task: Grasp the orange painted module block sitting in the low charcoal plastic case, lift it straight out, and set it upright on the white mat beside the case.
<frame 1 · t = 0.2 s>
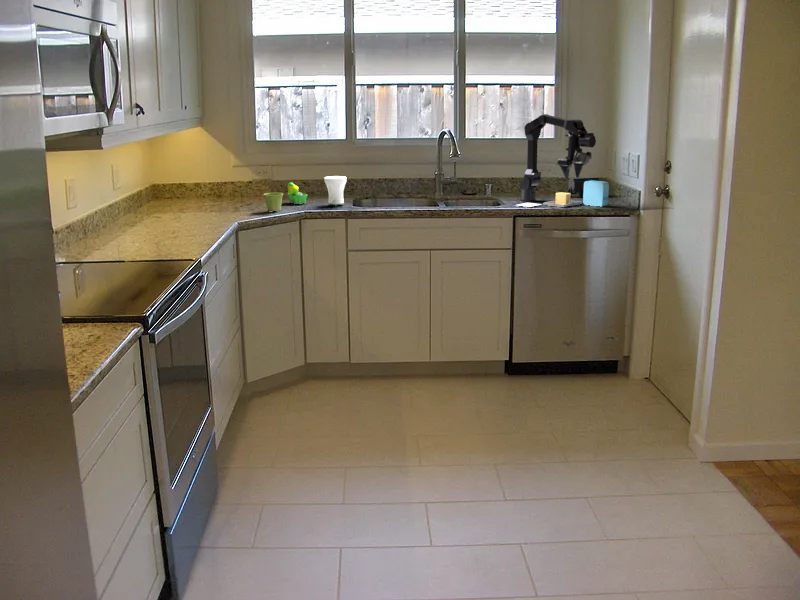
hand: (572, 178, 380), 13 cm above the worktop, fingers open, 9 cm apart
cup: (336, 205, 395), on the worktop
plant pot: (274, 212, 377), on the worktop
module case: (562, 205, 386), on the worktop
data package: (595, 206, 383), on the worktop
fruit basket: (296, 204, 402), on the worktop
security camera: (581, 196, 415), on the worktop
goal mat: (529, 205, 385), on the worktop
module: (562, 199, 385), in the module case
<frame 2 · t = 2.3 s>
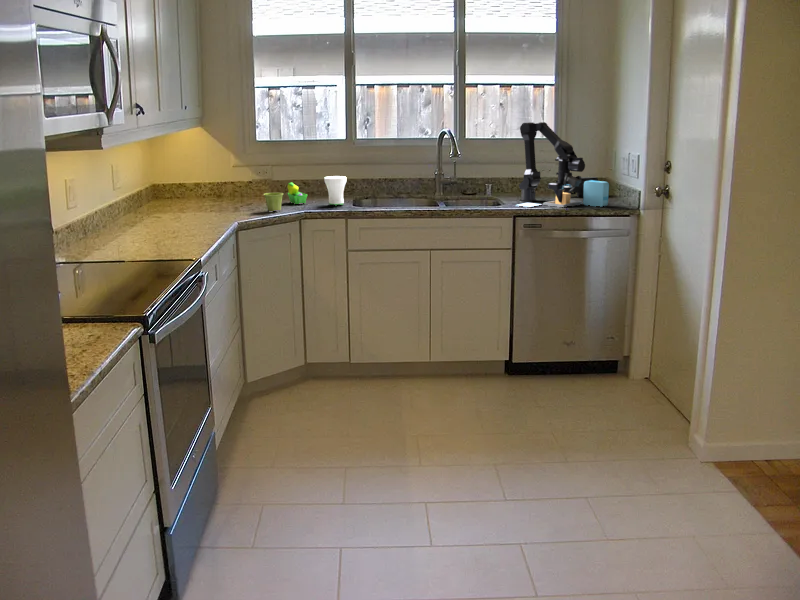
hand: (562, 202, 386), 2 cm above the worktop, fingers closed on module, 4 cm apart
module: (562, 199, 385), in the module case, touching gripper
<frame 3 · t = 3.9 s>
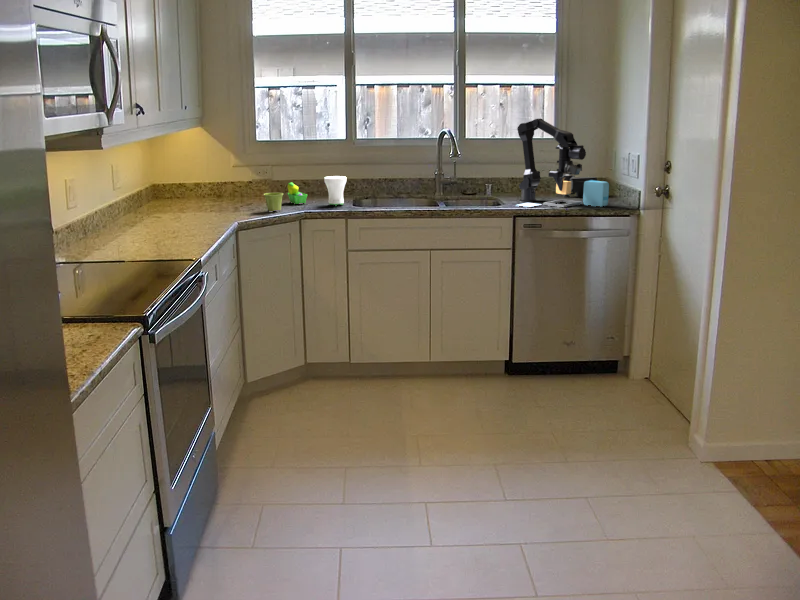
hand: (563, 190, 384), 7 cm above the worktop, fingers closed on module, 4 cm apart
module: (563, 187, 384), point 9 cm above the worktop, touching gripper
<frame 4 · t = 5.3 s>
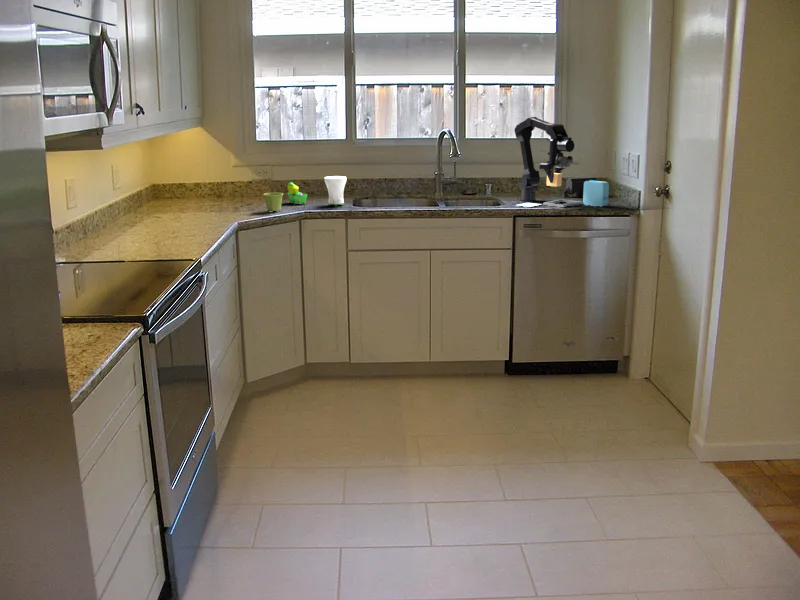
hand: (553, 182, 383), 11 cm above the worktop, fingers closed on module, 4 cm apart
module: (554, 179, 382), point 13 cm above the worktop, touching gripper
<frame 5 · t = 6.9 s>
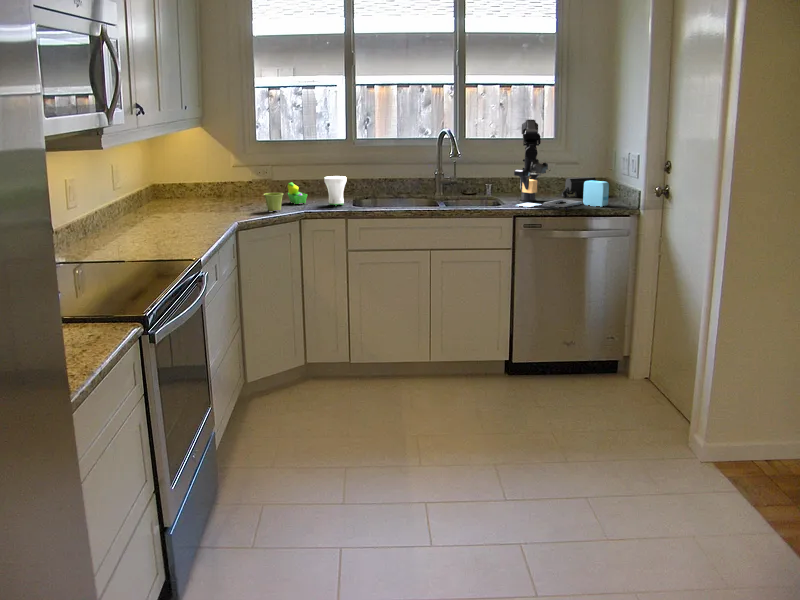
hand: (529, 189, 383), 8 cm above the worktop, fingers closed on module, 4 cm apart
module: (529, 186, 382), point 10 cm above the worktop, touching gripper
when the fingers open (3 cm above the worktop, at t = 8.1 s): module stays where it is, resting on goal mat.
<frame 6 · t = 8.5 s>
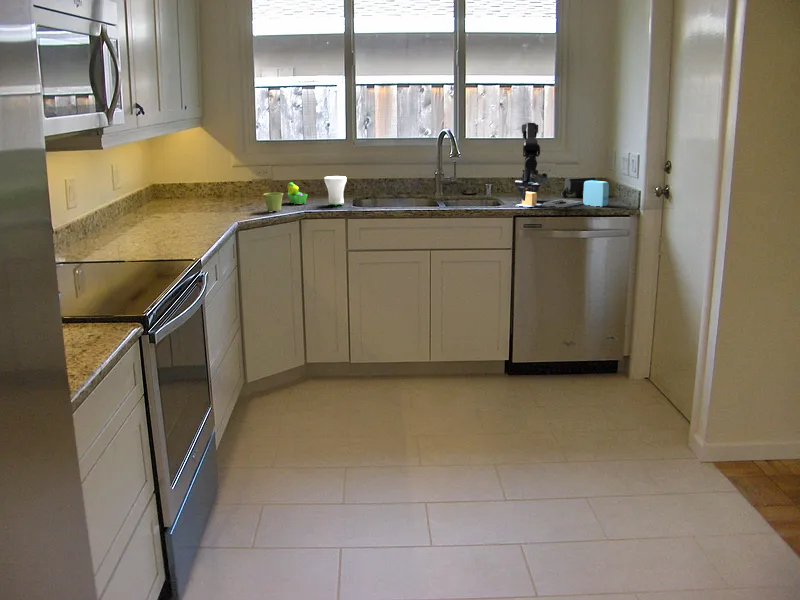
hand: (529, 199, 384), 3 cm above the worktop, fingers open, 9 cm apart
module: (529, 198, 384), on the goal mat, point 4 cm above the worktop
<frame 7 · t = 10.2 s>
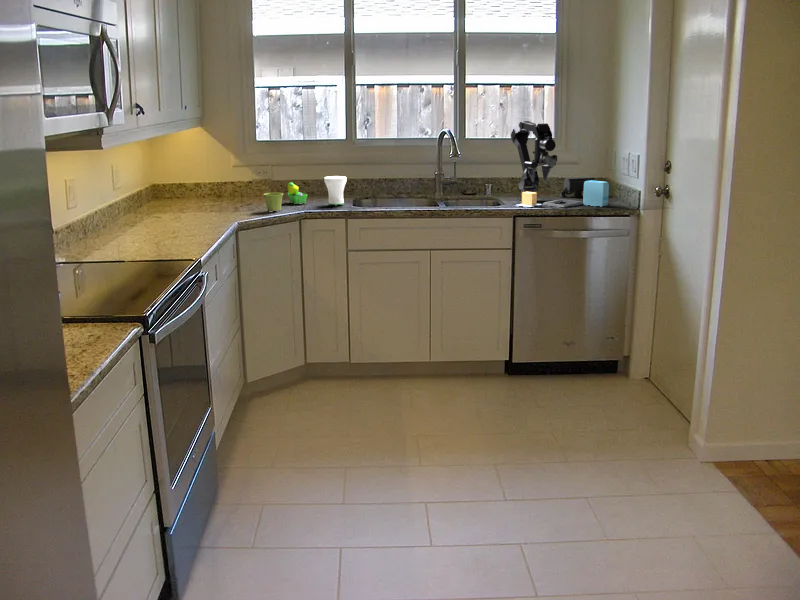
hand: (539, 180, 388), 12 cm above the worktop, fingers open, 9 cm apart
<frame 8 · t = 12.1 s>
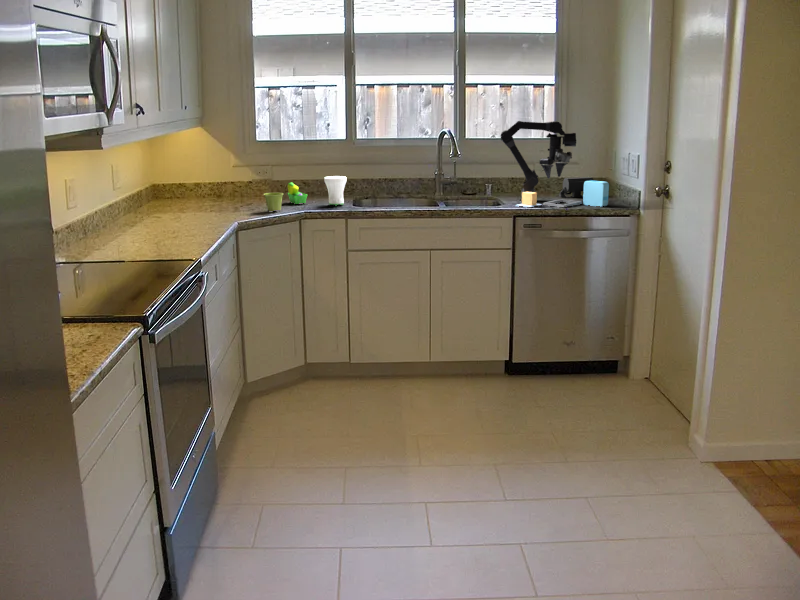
hand: (553, 177, 397), 12 cm above the worktop, fingers open, 9 cm apart
at the end: module inside the target area on the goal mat (0.0 cm from its centre), point 3.6 cm above the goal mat's base; module tilted 0°; the gripper is holding nothing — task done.
